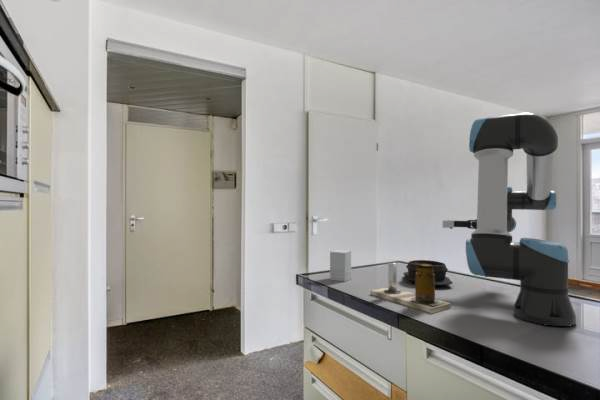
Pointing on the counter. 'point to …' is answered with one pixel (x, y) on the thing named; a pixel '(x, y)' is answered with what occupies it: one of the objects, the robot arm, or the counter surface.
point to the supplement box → (340, 265)
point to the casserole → (438, 268)
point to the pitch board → (409, 300)
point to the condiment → (425, 285)
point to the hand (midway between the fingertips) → (460, 225)
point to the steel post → (392, 277)
